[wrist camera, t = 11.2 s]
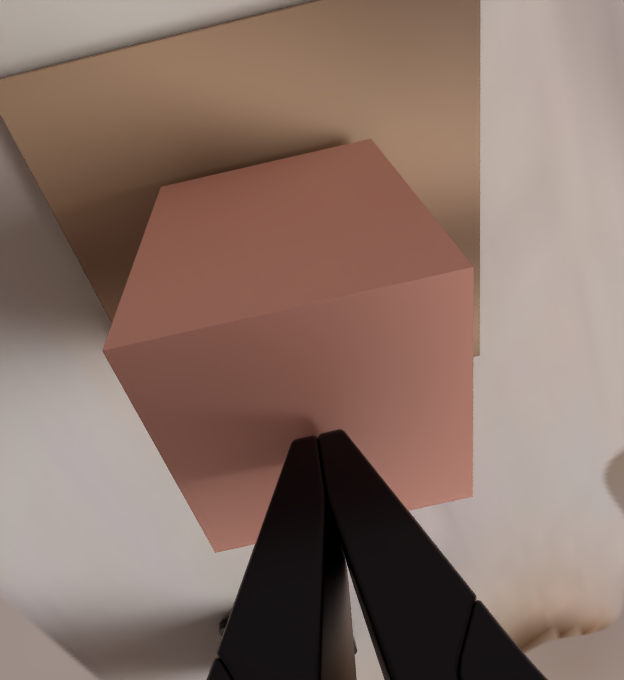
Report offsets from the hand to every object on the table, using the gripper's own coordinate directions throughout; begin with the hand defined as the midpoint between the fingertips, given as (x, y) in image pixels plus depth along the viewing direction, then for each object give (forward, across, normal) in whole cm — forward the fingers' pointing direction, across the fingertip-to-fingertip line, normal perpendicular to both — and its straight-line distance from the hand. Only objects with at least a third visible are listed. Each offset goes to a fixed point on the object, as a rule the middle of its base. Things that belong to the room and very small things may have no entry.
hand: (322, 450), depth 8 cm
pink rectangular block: (+7, 0, 0) cm, 7 cm away
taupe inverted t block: (+8, 0, 0) cm, 8 cm away
